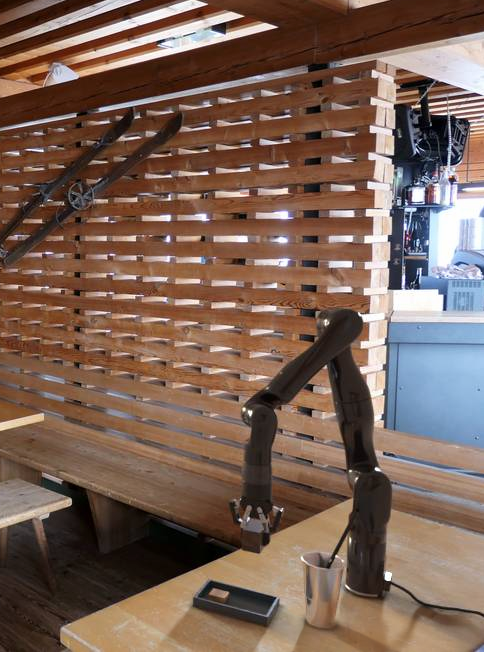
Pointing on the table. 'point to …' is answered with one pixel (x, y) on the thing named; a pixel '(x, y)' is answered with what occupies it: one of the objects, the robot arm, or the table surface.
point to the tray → (239, 602)
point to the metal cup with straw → (323, 583)
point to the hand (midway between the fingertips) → (255, 543)
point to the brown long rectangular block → (253, 536)
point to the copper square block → (218, 596)
